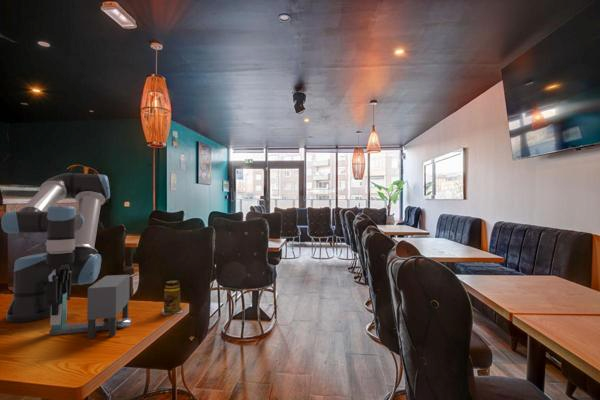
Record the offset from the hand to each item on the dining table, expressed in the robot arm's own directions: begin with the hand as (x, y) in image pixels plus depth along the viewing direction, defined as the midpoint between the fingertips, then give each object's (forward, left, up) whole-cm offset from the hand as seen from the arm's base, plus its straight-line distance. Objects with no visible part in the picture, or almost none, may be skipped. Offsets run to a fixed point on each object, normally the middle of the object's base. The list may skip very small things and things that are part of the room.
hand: (58, 322), depth 102 cm
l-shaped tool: (0, +8, -3) cm, 8 cm away
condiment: (-12, +34, -3) cm, 36 cm away
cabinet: (0, +15, -3) cm, 15 cm away
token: (0, +19, -3) cm, 19 cm away
